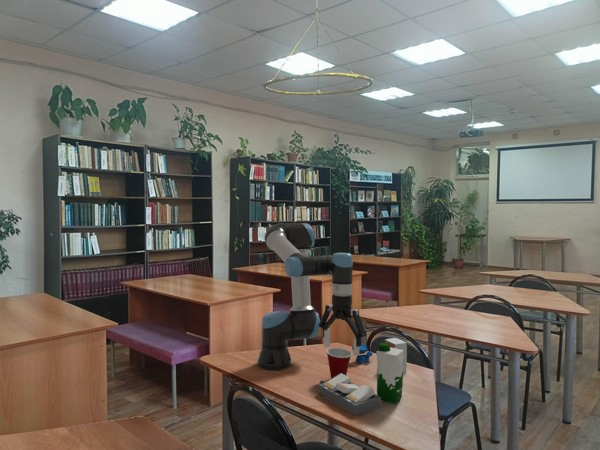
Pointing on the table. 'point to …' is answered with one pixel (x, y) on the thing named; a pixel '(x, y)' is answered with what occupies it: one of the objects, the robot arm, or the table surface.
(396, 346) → the small box
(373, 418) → the table surface
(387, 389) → the milk carton
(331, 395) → the grey compartment tray
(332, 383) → the rocker
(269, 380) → the table surface
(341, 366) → the plastic cup
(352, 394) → the rocker
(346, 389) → the rocker
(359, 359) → the blue toy figurine
